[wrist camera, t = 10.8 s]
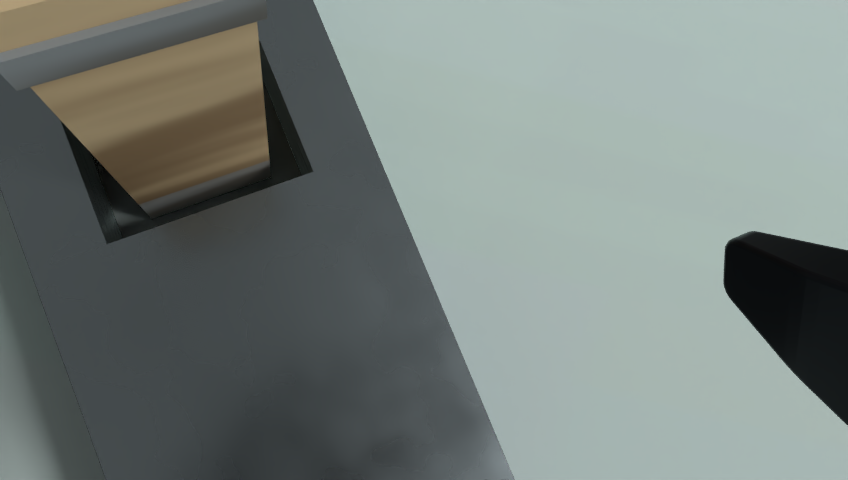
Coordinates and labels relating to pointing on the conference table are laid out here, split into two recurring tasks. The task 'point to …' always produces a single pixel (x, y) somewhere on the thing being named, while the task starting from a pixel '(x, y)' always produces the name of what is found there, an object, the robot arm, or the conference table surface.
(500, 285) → the conference table surface
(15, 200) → the panel
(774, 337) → the robot arm
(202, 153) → the tan square column
